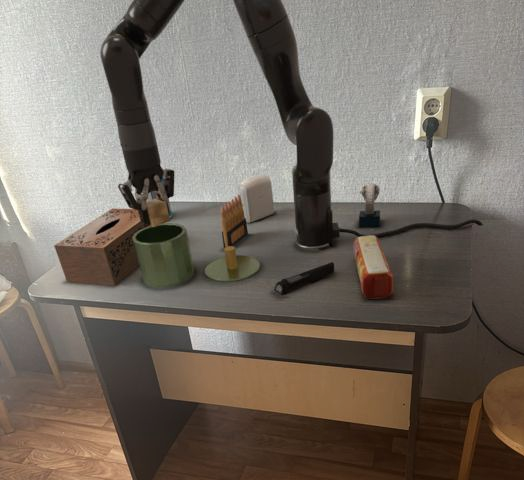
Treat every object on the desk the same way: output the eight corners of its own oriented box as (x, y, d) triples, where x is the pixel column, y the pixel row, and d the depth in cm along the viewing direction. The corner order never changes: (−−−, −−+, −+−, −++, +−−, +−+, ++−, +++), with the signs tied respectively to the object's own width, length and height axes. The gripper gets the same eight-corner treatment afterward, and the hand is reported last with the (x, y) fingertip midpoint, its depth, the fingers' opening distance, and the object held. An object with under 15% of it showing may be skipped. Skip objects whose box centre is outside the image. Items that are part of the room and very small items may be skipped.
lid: (260, 257, 131) (258, 234, 128) (260, 281, 120) (257, 257, 117) (208, 262, 132) (204, 239, 129) (202, 286, 121) (198, 263, 117)
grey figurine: (380, 218, 144) (381, 179, 138) (379, 229, 138) (380, 189, 132) (359, 219, 146) (360, 180, 139) (358, 230, 139) (358, 189, 133)
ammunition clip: (229, 250, 137) (223, 206, 130) (223, 250, 137) (217, 206, 131) (248, 235, 144) (243, 193, 138) (242, 234, 145) (237, 192, 138)
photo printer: (249, 224, 152) (244, 182, 145) (241, 220, 154) (235, 179, 148) (276, 214, 156) (272, 172, 149) (267, 211, 159) (264, 170, 152)
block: (158, 217, 122) (154, 198, 119) (170, 220, 119) (166, 201, 116) (143, 223, 119) (138, 204, 117) (154, 227, 116) (149, 207, 114)
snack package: (352, 259, 125) (352, 232, 121) (380, 257, 124) (380, 230, 120) (361, 302, 107) (361, 272, 104) (393, 300, 107) (394, 270, 103)
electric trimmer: (338, 276, 118) (338, 264, 117) (282, 298, 112) (281, 285, 111) (328, 271, 121) (328, 259, 119) (273, 292, 115) (272, 279, 113)
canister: (196, 264, 132) (188, 221, 125) (191, 286, 121) (181, 241, 115) (149, 268, 133) (138, 226, 126) (139, 291, 122) (127, 246, 116)
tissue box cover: (121, 241, 150) (112, 208, 145) (164, 243, 146) (156, 209, 140) (67, 282, 131) (54, 245, 125) (114, 285, 126) (103, 248, 120)
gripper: (119, 154, 103) (139, 234, 113) (176, 137, 111) (190, 214, 120) (100, 150, 108) (121, 228, 117) (156, 135, 115) (171, 208, 125)
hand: (156, 220), depth 119 cm, fingers closed on block, 4 cm apart
